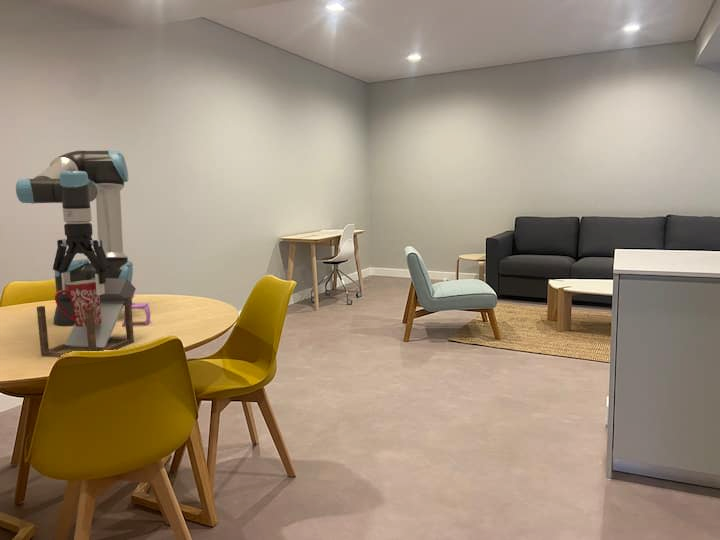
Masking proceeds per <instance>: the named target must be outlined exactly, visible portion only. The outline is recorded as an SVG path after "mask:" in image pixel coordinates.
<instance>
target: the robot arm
mask: <svg viewBox="0 0 720 540" xmlns="http://www.w3.org/2000/svg"><path fill="white" fill-rule="evenodd" d="M125 159H126V158H125V157H124V155H123V153H122V152H120V151H119V150H118V151H117V150H116V151H115V150H74V151H69V152H67V153H63V154H62V155H60V156H57V157H55V158H54V159H53V160H52V161H50V164H49V166H48V167H47V168H46V169H44V170H42V172H40V173H39V174H37V175H36V176H34V178H21V179H20V178H19V179H18V180H17V182H16V184H15V192H16V193H15V194H16V197H17V199H18V200H19V202H20V203H22V204H62V205H61V206H62V215H63V216H62V217H63V222H64V223H65V224H64V225H63V227H64V228H63V230H64V236H65V237H66V239H65V238H64V239H57V241H56V243H57V244H56V245H57V249H56V253H55V258H54V262H53V265H52V266H53V267H52V270H53V271H54V277H53V278H54V282H55V290H56V291H55V292H56V293H57V292H58V291H60V290H69V289H68V286H67V283H70V282H76V281H84V280H91V279H92V278H95V280H96V292H97V295H102V294H105V289H104V283H106V279H105V278H118V279H127V280H128V281H129V282H130V283H131V284H132V281H133V275H134V273H133V272H134V271H133V262H132V261H130V260H128V259H129V257H128V255H126V254H125V253H124V244H123V243H124V242H123V241H124V240H123V225H122V224H123V223H122V222H123V221H122V208H121V207H122V203H121V199H122V198H121V190H123V189H124V188H125V183H127V182H128V181H129V171H128V166H127V163H126V160H125ZM94 200H95V204H96V205H95V207H96V209H95V210H96V224H97V225H96V226H97V227H96V229H97V239H96V240H94V239H93V238H92V236H93V232H94V231H93V224H92V223H91V222H92V221H93V220H92V219H93V218H92V209H91V202H93V201H94ZM77 254H81V255H82V254H83V255H84V256H86V258H82V259H75V260H74V258H75V256H76V255H77ZM56 293H55V294H56ZM58 301H59V304H60V305H61V307H62V308H63V309H64V310H65V311H67V312H68V313H69V314H71V315H73V310H72V305H71V300H70V298H69V297H68V296H67V294H66V293H60V294H59V296H58ZM52 318H53V324H54V325H56V326H61V327H63V326H65V327H66V326H67V327H68V326H69V327H70V326H74V325H75V321H74V320H72V319H71V318H70V317H68V316H67V315H66V314H65V313H64V312H63V311H62V310H61V309H60V308H59V307H58V306H57V305H56V307H55V311H54V316H53V317H52Z"/></svg>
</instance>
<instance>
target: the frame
mask: <svg viewBox="0 0 720 540" xmlns="http://www.w3.org/2000/svg"><path fill="white" fill-rule="evenodd" d="M132 303H133V300H132V301H131V297H124V302H123V304H124V306H123V308H124V311H125V322H126V325H125V331H126V333H125V334H126V337H116V336H115V337H114V336H110V338H109V340H108V342H107V343H115V344H112V345H110V346H108V347H107V346H106V347H105V348H101V349H100V350H99V351H104V350H114V349H116V350H118V349H119V350H120V349H121V348H123V347H126V346H128V345H130V344H133V343H135V340H134V339H135V337H134V324H133V309H132V307H131V305H132ZM85 314H86V325H87V337H88V347H87V348H88V352H89V351H97V350H98V348H96V336H95V324H94V312H93V308H87V309H85ZM46 315H47V314H46V306H45V305H40V306H39V305H38V306H36V317H37V327H38V337H39V346H40V347H39V349H40V355H41V357H50V358H51V357H52V358H53V357H54V358H61V357H60V356H61V355H63V354H65V353H67V352H68V351H63V350H66V349H68V347H69V348H70V347H72V346H65V343H66V342H65V343H62V344H60V345H59V344H58V345H56V346H54V347H51V348H50V347H49V339H48V338H49V336H48V326H47V316H46ZM60 350H61V351H60ZM114 351H115V350H114ZM97 352H98V351H97Z"/></svg>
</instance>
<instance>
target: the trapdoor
mask: <svg viewBox="0 0 720 540" xmlns="http://www.w3.org/2000/svg"><path fill="white" fill-rule="evenodd" d="M105 279H106V283H104V289H105V294H102V295H100V309H101V323H100V324H97V325H95V336H96V349H98V348H99V349H105V348H107V344H108V343H109V342H108V340H109V338H110V337H111V336H112V333H113V331H114V328H115V326H116V323H117V322H118V319H119V317H120V315H121V312H122V310H123V308H124V304H123V302H124V297H131V299H132V297H133V294H134V295H135V292H136V289H137V288H136V287H135V286H134V284H133V283H132V282H131V283H130V282H129V281H128V280H127V279H118V278H105ZM91 280H95V278H92V279H91ZM132 300H133V299H132ZM65 346H71V347H82V348H88V337H87V327H77V326H76V325H73V328H71V331H70V333H69V335H68V337H67V339H66V341H65Z"/></svg>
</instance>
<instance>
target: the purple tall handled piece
mask: <svg viewBox="0 0 720 540" xmlns="http://www.w3.org/2000/svg"><path fill="white" fill-rule="evenodd" d="M134 297H135V293H134V294H133V297H132V299H131V301H132V305H131V307H132V310H136V309H137V310H143V311H144V313H145V316H146V317H145V318H146V319H145V323H144V326H145V327H146V326H148V325H149V324H150V322H151V309H150V305H149V302H140V303H139V302H138V303H137V302H135V303H134V302H133V299H134ZM124 326H125V327H126V322H125V310H124V311H123V322H122V326H121V327H122V328H124Z"/></svg>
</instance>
